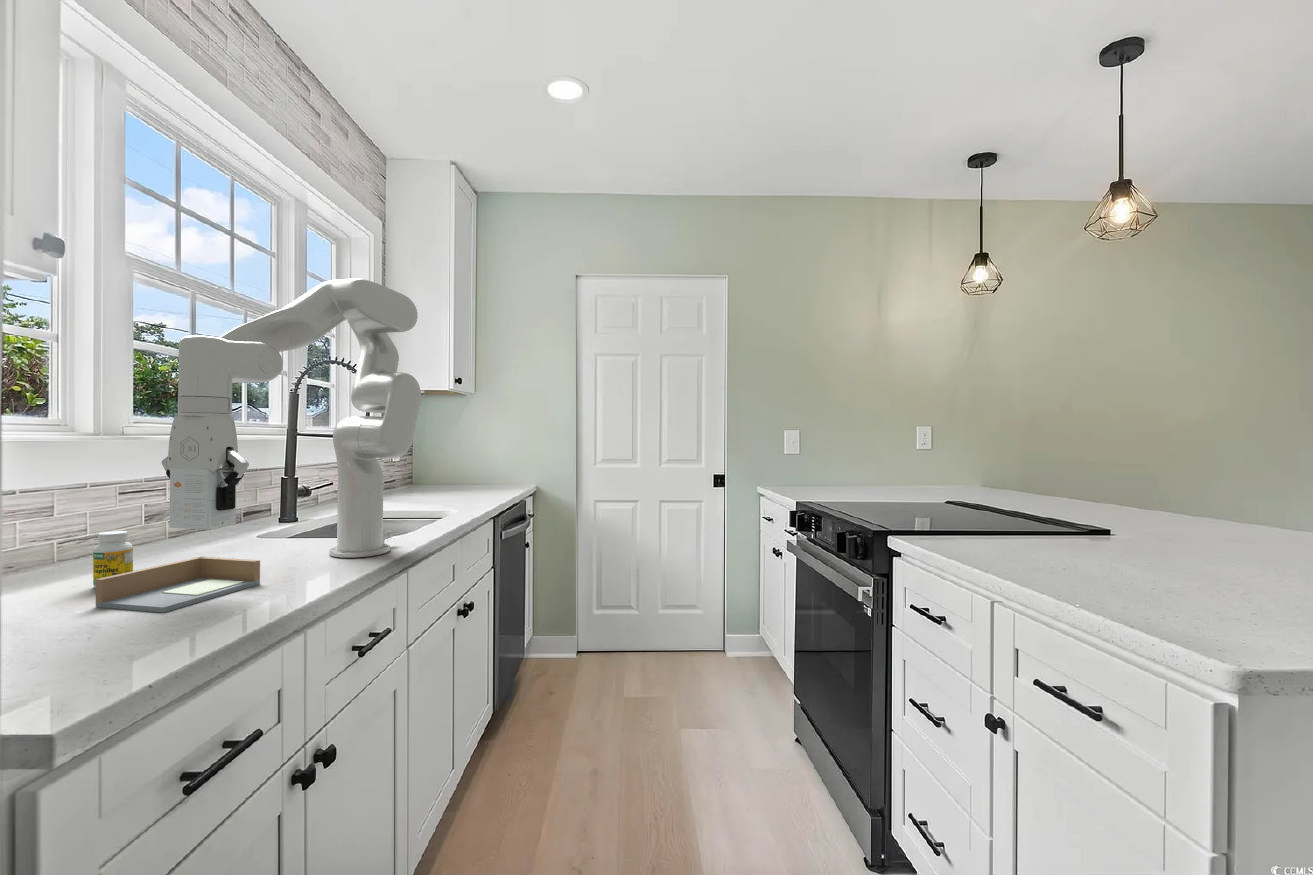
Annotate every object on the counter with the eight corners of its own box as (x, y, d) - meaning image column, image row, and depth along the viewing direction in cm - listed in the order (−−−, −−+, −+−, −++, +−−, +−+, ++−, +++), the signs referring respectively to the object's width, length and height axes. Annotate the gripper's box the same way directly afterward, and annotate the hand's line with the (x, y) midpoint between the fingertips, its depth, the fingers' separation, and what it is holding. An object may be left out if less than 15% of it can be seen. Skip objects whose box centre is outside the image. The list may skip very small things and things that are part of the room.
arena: (200, 579, 114) (200, 556, 114) (259, 583, 111) (260, 560, 111) (95, 606, 96) (95, 579, 96) (163, 612, 94) (163, 584, 94)
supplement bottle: (139, 581, 112) (139, 529, 112) (121, 588, 107) (121, 534, 107) (105, 582, 111) (105, 530, 111) (85, 590, 106) (85, 535, 106)
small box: (236, 525, 107) (237, 466, 107) (207, 530, 101) (208, 467, 101) (198, 523, 109) (200, 464, 108) (168, 527, 103) (169, 466, 103)
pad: (210, 580, 110) (210, 579, 110) (243, 582, 109) (243, 581, 109) (162, 593, 102) (162, 591, 102) (197, 595, 100) (197, 594, 100)
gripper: (142, 406, 103) (141, 509, 103) (228, 407, 100) (227, 513, 100) (184, 408, 110) (183, 504, 110) (266, 409, 107) (265, 508, 107)
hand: (204, 508), depth 105 cm, fingers closed on small box, 8 cm apart
